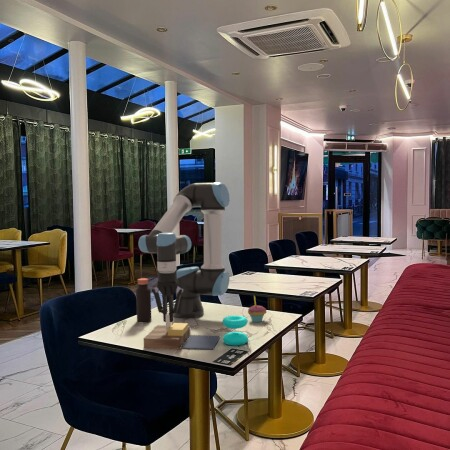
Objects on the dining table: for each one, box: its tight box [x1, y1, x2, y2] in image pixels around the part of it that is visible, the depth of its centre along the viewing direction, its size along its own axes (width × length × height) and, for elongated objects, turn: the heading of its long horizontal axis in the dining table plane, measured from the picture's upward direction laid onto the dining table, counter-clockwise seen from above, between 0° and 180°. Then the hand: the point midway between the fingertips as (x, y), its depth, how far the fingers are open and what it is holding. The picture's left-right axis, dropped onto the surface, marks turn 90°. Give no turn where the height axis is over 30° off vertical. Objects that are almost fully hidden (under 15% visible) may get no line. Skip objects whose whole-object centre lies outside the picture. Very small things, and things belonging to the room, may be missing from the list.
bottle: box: [135, 277, 152, 323], centre depth 217 cm, size 7×7×20 cm
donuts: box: [222, 314, 249, 347], centre depth 183 cm, size 10×10×10 cm
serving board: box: [143, 324, 191, 351], centre depth 186 cm, size 18×14×4 cm
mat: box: [180, 334, 221, 351], centre depth 184 cm, size 16×12×1 cm
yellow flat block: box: [168, 322, 189, 336], centre depth 185 cm, size 9×6×2 cm, turn 171°
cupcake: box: [247, 295, 267, 323], centre depth 214 cm, size 9×8×12 cm
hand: (168, 329), depth 185 cm, fingers closed
